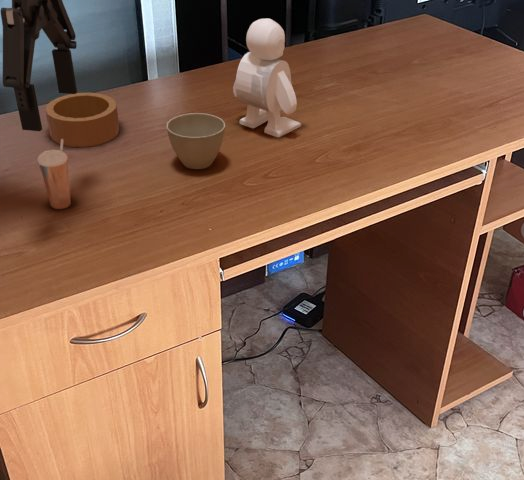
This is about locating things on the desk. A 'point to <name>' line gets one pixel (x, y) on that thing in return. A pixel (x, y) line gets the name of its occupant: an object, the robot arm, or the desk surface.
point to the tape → (82, 119)
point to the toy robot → (266, 80)
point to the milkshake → (56, 176)
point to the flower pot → (196, 138)
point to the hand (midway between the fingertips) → (51, 110)
